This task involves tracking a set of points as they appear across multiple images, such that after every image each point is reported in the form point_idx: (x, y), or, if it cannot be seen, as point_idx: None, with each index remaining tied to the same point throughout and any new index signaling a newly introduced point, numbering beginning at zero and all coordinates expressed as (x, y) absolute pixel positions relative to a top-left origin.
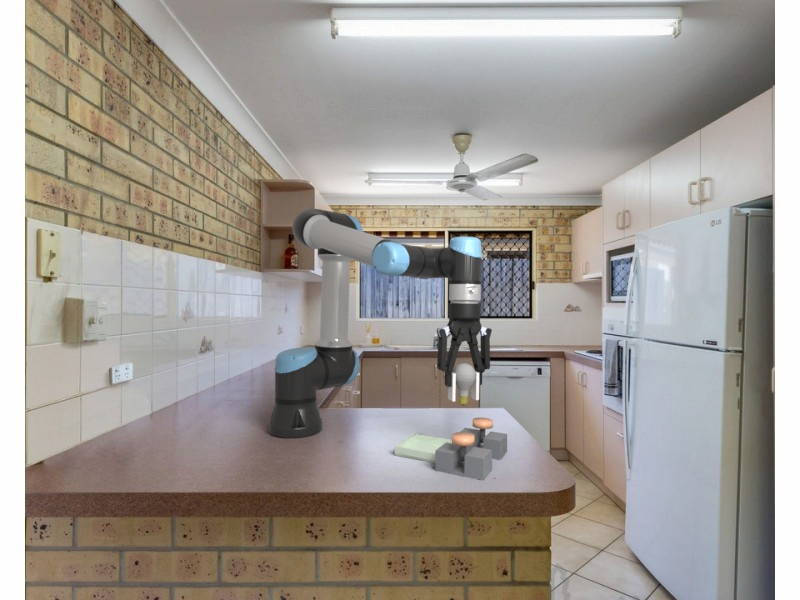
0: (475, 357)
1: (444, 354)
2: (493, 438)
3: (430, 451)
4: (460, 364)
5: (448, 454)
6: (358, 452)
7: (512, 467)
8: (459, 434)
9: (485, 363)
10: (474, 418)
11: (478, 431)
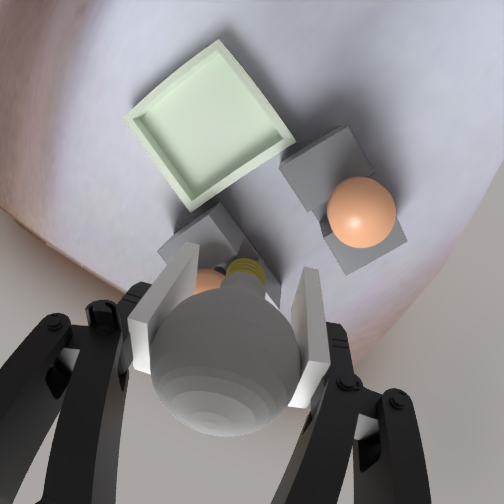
0: (278, 487)
1: (33, 431)
2: (347, 251)
3: (210, 141)
4: (178, 410)
5: None
6: (82, 78)
7: (328, 294)
8: (200, 292)
9: (353, 454)
10: (354, 183)
11: None
